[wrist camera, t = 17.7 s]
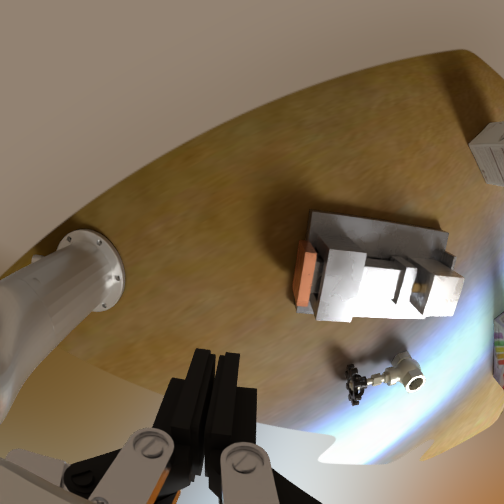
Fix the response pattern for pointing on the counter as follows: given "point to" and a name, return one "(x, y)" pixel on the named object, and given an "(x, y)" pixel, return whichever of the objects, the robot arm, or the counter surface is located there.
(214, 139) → the counter surface
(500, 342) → the cake pan box
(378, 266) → the ram
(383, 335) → the counter surface
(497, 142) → the supplement box
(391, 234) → the press bed
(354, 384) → the valve
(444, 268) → the block
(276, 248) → the counter surface
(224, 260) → the counter surface
